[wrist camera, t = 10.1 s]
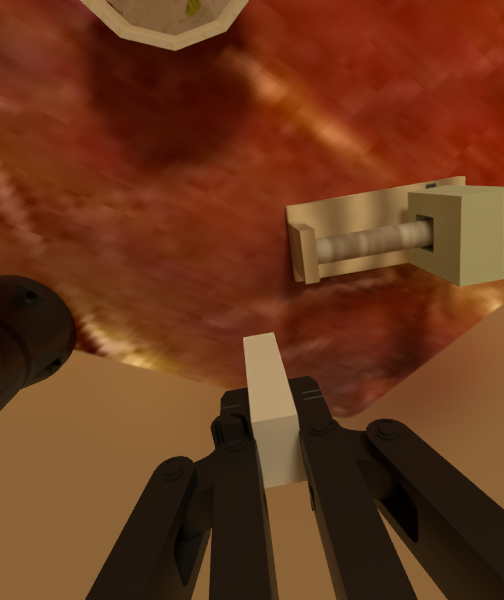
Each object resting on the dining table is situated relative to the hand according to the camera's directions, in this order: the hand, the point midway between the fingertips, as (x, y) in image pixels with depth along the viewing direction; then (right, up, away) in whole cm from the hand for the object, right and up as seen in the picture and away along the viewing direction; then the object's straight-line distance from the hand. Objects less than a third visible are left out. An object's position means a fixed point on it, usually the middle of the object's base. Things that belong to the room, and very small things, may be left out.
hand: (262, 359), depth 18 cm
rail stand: (+16, +12, +31) cm, 37 cm away
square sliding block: (+22, +12, +28) cm, 38 cm away
